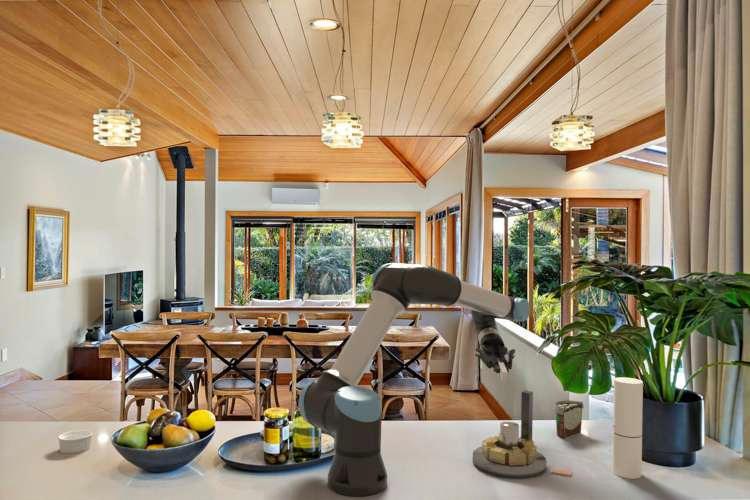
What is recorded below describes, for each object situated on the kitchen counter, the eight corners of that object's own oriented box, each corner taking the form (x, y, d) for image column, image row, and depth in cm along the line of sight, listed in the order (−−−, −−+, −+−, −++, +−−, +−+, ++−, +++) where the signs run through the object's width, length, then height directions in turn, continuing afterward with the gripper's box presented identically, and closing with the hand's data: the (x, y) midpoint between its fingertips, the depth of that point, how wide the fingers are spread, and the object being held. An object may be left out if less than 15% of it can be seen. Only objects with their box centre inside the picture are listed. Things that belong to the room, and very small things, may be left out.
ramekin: (55, 448, 165) (56, 433, 165) (89, 441, 170) (89, 427, 170) (60, 457, 158) (60, 442, 158) (95, 450, 163) (95, 435, 163)
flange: (492, 482, 144) (493, 439, 144) (461, 453, 164) (461, 416, 163) (561, 474, 149) (561, 433, 149) (523, 448, 169) (523, 411, 169)
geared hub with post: (521, 469, 147) (521, 409, 146) (474, 456, 156) (474, 399, 155) (551, 449, 161) (551, 395, 161) (506, 438, 170) (507, 387, 170)
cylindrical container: (635, 468, 154) (637, 377, 154) (645, 479, 147) (647, 384, 147) (608, 467, 155) (610, 376, 155) (617, 477, 148) (618, 383, 147)
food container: (566, 427, 189) (566, 397, 189) (583, 432, 184) (583, 401, 184) (545, 435, 181) (545, 404, 181) (562, 440, 176) (562, 408, 176)
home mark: (551, 473, 150) (551, 471, 150) (552, 469, 153) (552, 468, 153) (570, 476, 148) (570, 475, 148) (571, 473, 150) (571, 471, 150)
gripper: (472, 331, 187) (483, 364, 164) (511, 333, 186) (528, 365, 164) (471, 352, 189) (481, 387, 166) (509, 353, 188) (525, 388, 166)
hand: (504, 376), depth 165 cm, fingers closed
